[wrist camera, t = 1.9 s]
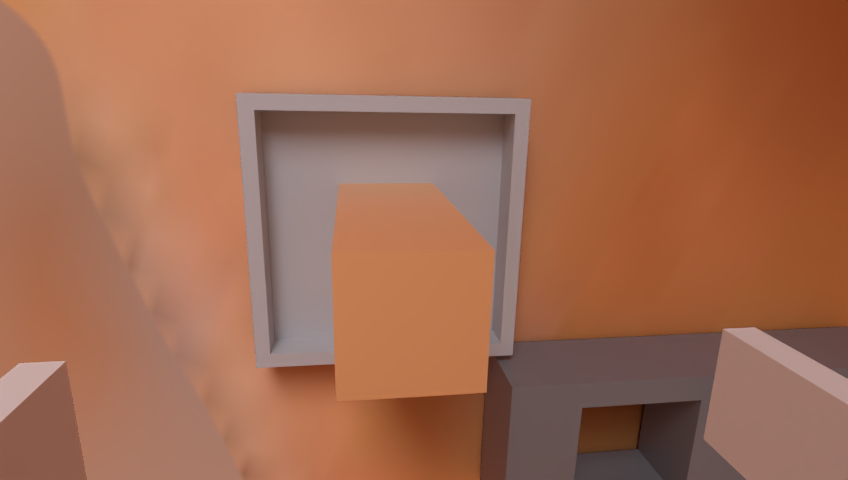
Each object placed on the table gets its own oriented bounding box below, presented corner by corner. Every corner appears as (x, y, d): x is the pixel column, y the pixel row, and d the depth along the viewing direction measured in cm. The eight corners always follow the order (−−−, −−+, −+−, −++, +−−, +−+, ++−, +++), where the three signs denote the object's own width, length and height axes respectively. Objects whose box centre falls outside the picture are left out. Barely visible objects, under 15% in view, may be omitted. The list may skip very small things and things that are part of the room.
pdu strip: (487, 343, 26) (570, 493, 16) (847, 326, 28) (1100, 445, 19) (480, 480, 28) (548, 684, 18) (814, 452, 30) (1026, 616, 21)
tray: (246, 92, 21) (235, 93, 19) (515, 97, 22) (531, 98, 21) (263, 346, 24) (256, 367, 22) (500, 335, 26) (512, 355, 24)
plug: (339, 183, 22) (331, 253, 12) (433, 183, 22) (494, 250, 13) (341, 273, 23) (335, 401, 14) (430, 271, 24) (486, 392, 14)
